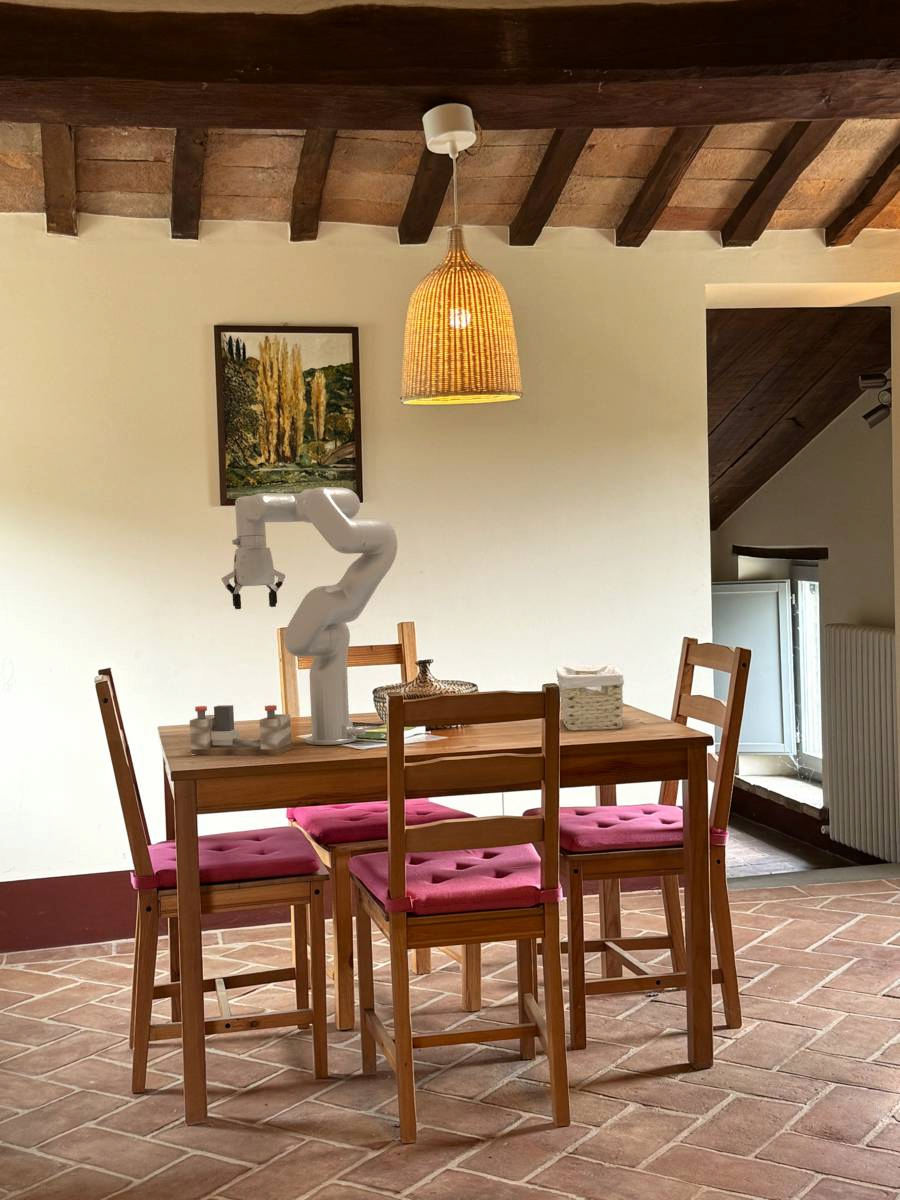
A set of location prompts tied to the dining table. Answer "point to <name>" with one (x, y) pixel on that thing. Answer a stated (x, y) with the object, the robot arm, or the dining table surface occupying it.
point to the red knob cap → (271, 711)
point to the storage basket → (591, 697)
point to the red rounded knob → (201, 712)
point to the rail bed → (270, 743)
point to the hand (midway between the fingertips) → (255, 607)
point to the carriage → (224, 726)
